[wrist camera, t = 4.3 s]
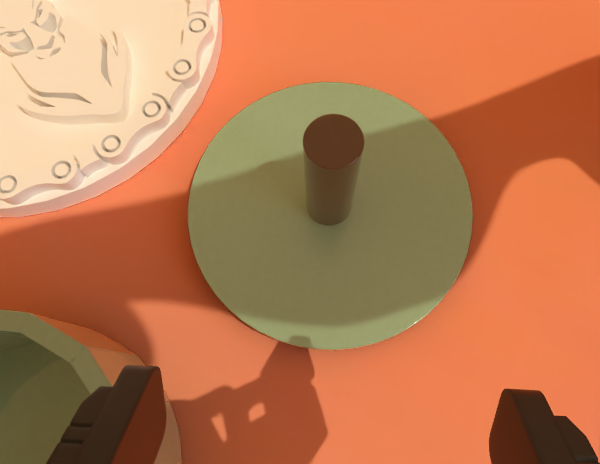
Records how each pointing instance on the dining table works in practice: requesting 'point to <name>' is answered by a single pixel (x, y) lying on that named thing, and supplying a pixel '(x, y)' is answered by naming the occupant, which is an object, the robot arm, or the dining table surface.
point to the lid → (330, 216)
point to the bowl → (57, 384)
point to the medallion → (96, 92)
